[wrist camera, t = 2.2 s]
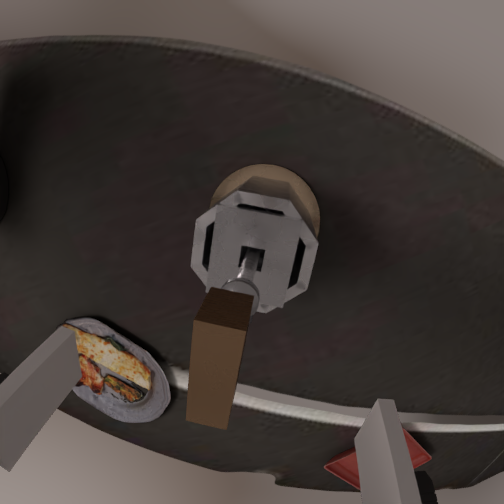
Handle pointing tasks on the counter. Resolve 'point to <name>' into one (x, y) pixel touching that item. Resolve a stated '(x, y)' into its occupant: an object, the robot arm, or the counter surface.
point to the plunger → (221, 343)
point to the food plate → (117, 373)
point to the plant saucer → (348, 466)
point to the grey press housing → (259, 232)
